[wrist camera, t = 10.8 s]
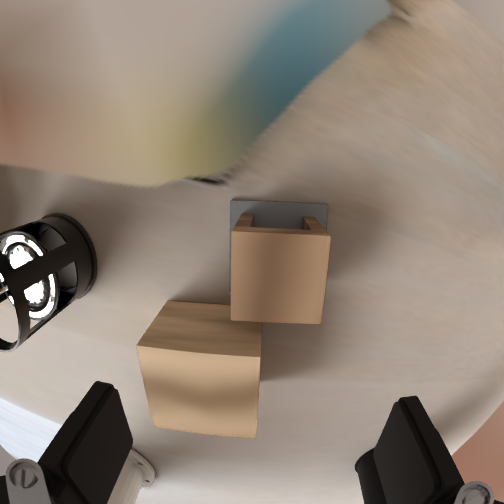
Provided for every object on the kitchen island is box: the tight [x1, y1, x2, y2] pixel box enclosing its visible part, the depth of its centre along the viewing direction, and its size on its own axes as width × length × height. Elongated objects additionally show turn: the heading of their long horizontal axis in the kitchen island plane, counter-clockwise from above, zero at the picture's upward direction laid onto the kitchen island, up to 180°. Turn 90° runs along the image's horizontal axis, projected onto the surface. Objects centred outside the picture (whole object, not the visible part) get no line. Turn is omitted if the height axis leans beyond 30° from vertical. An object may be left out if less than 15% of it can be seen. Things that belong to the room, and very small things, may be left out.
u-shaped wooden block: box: [231, 214, 331, 324], centre depth 23 cm, size 6×6×7 cm
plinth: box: [136, 301, 262, 438], centre depth 26 cm, size 9×9×8 cm
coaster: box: [230, 200, 328, 292], centre depth 26 cm, size 8×8×1 cm
